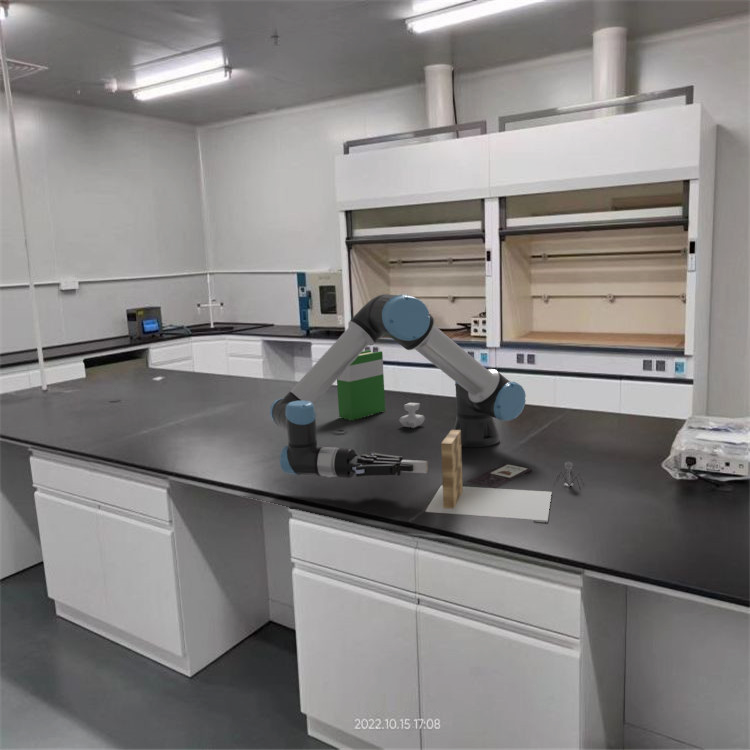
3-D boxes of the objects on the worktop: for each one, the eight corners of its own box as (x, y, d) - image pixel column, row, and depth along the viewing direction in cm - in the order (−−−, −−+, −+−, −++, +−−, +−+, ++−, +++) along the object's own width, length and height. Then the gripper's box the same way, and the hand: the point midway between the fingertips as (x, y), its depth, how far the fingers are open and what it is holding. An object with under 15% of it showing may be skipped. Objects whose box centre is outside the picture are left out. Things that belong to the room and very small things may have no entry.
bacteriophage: (550, 489, 164) (550, 464, 163) (559, 479, 171) (559, 455, 170) (578, 493, 161) (578, 467, 160) (586, 483, 168) (586, 458, 166)
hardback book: (372, 408, 261) (369, 350, 257) (385, 411, 256) (382, 351, 251) (339, 417, 249) (335, 356, 245) (352, 420, 244) (348, 357, 239)
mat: (441, 487, 170) (441, 485, 170) (551, 493, 161) (551, 491, 161) (425, 513, 153) (425, 511, 153) (547, 522, 144) (547, 520, 144)
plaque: (453, 490, 166) (451, 429, 163) (462, 490, 165) (460, 430, 162) (443, 507, 154) (441, 443, 151) (453, 508, 154) (451, 443, 151)
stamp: (411, 422, 236) (410, 400, 235) (427, 424, 232) (426, 401, 231) (397, 428, 229) (396, 405, 228) (412, 430, 225) (411, 407, 224)
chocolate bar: (466, 481, 171) (503, 463, 184) (466, 484, 171) (504, 466, 184) (495, 488, 165) (532, 469, 178) (495, 491, 165) (532, 472, 178)
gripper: (347, 468, 174) (433, 473, 167) (329, 485, 162) (421, 490, 154) (346, 441, 173) (432, 445, 165) (327, 456, 161) (420, 460, 153)
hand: (427, 467), depth 160 cm, fingers closed
